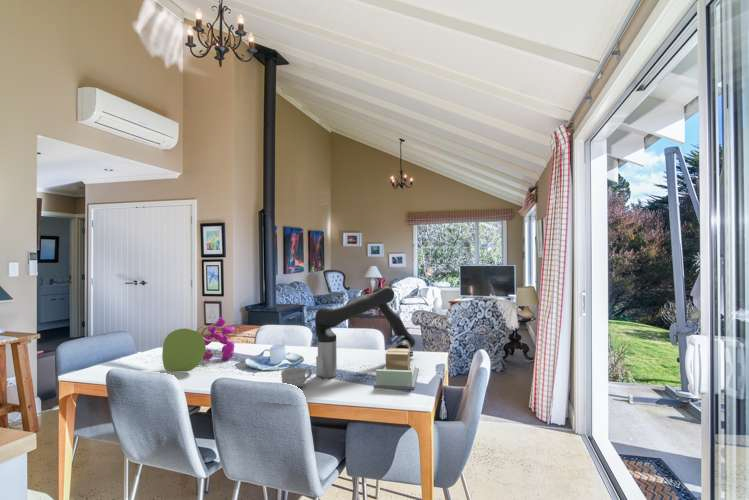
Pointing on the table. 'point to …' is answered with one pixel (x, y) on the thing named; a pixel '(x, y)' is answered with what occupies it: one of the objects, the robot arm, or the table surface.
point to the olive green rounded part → (194, 347)
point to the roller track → (396, 378)
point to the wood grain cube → (398, 359)
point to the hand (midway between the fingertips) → (399, 357)
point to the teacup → (295, 376)
